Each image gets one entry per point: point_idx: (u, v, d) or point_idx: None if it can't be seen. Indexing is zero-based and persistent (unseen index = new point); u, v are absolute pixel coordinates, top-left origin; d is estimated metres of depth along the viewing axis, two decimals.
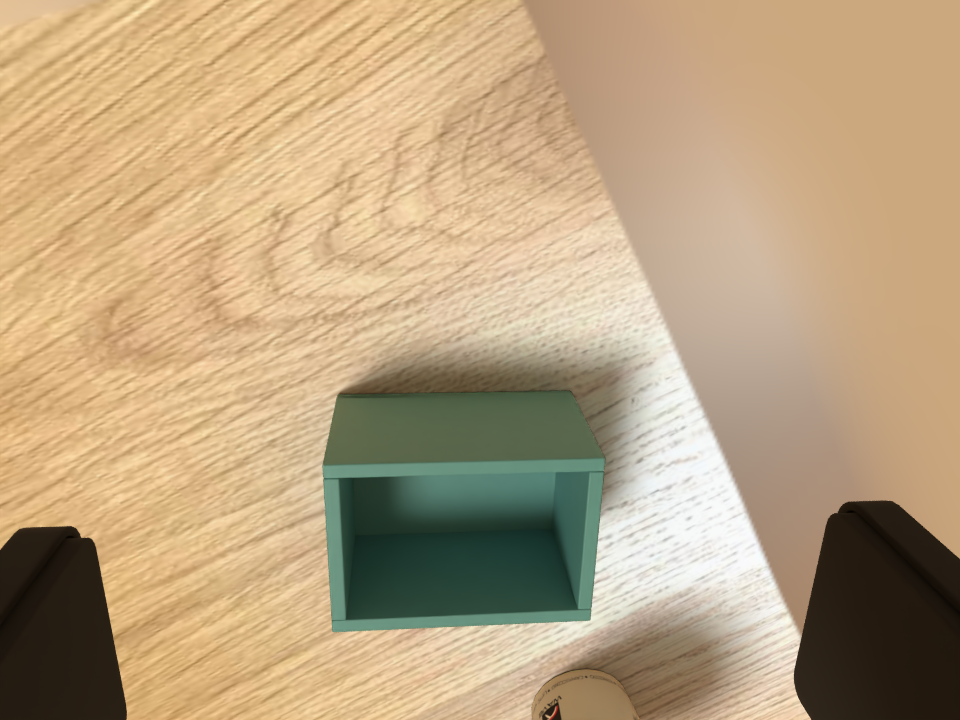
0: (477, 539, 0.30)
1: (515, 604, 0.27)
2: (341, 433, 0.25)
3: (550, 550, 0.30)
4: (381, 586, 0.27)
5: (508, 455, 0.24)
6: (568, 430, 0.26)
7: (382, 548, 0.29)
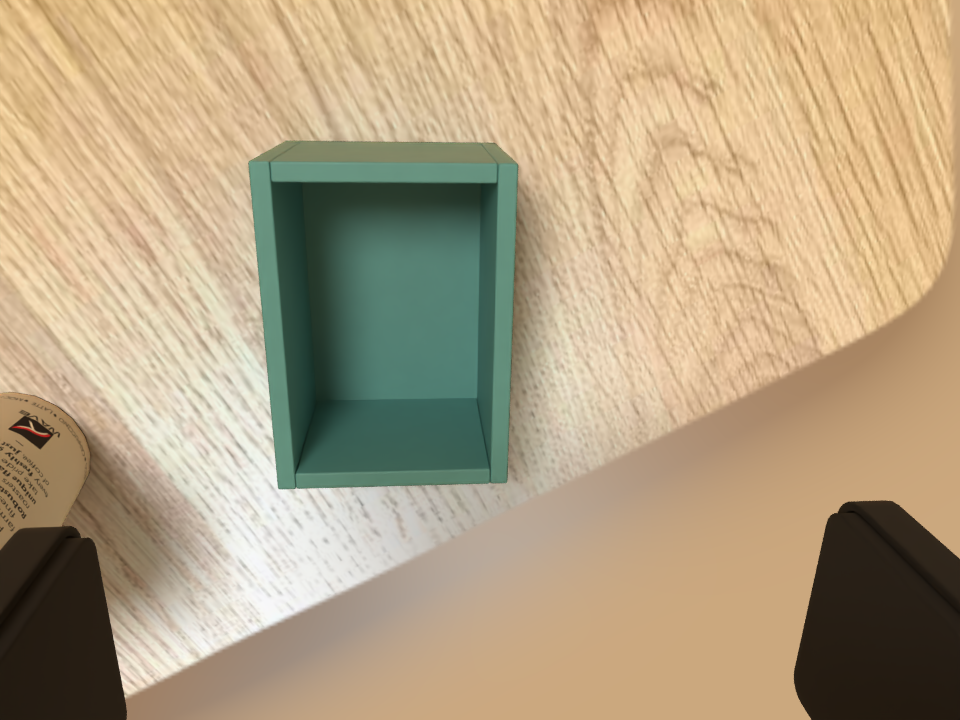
0: (308, 318, 0.24)
1: (291, 397, 0.21)
2: None
3: (310, 409, 0.24)
4: (285, 216, 0.20)
5: None
6: None
7: (298, 201, 0.22)
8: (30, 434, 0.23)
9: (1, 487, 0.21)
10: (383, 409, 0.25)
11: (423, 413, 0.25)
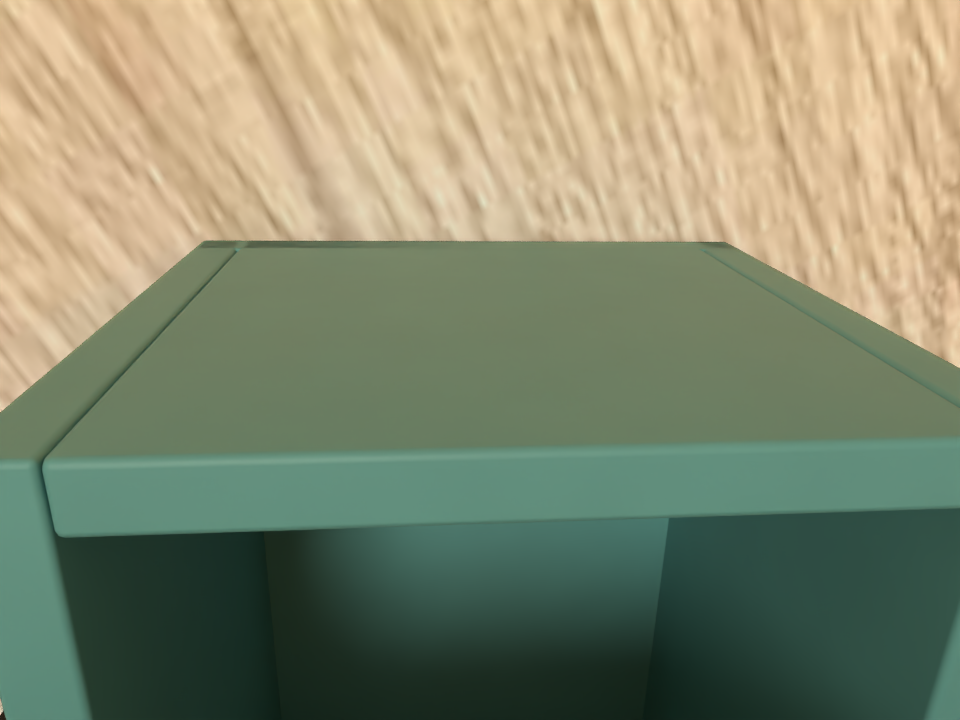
0: (265, 660, 0.10)
1: None
2: None
3: None
4: (172, 534, 0.06)
5: None
6: None
7: None
8: None
9: None
10: None
11: None
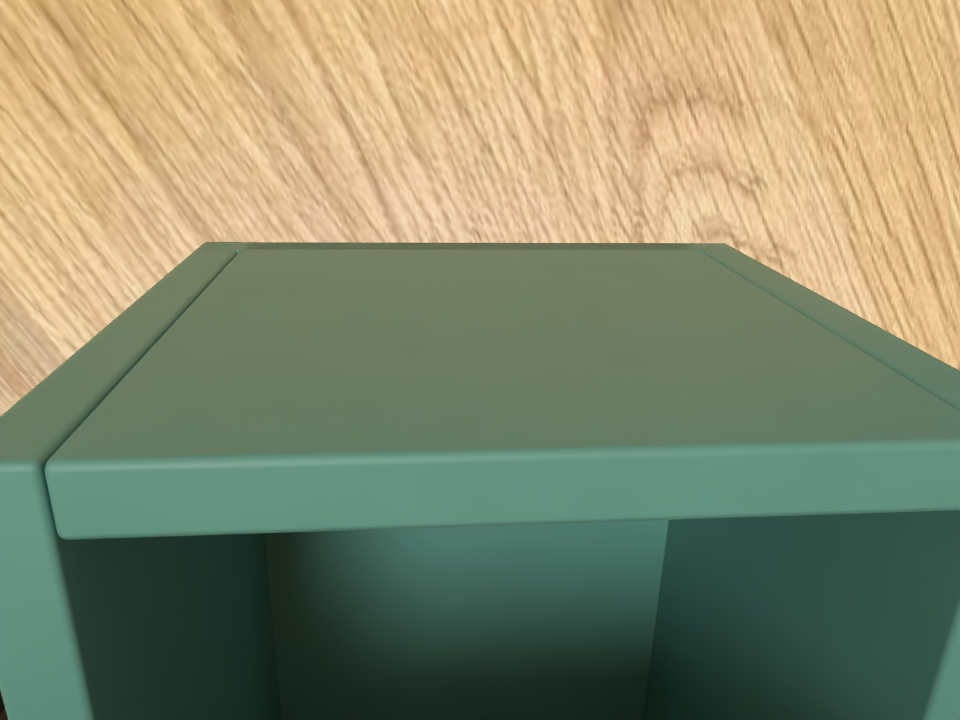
0: (266, 660, 0.10)
1: None
2: None
3: None
4: None
5: None
6: None
7: None
8: None
9: None
10: None
11: None
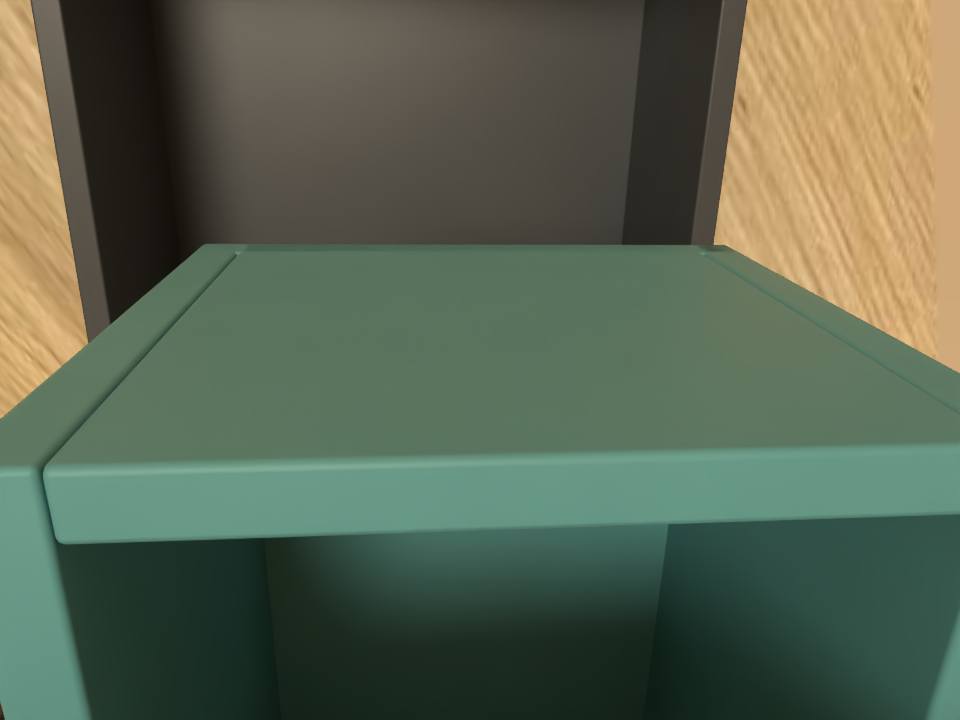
0: (265, 663, 0.10)
1: None
2: None
3: None
4: None
5: None
6: None
7: None
8: None
9: None
10: None
11: None
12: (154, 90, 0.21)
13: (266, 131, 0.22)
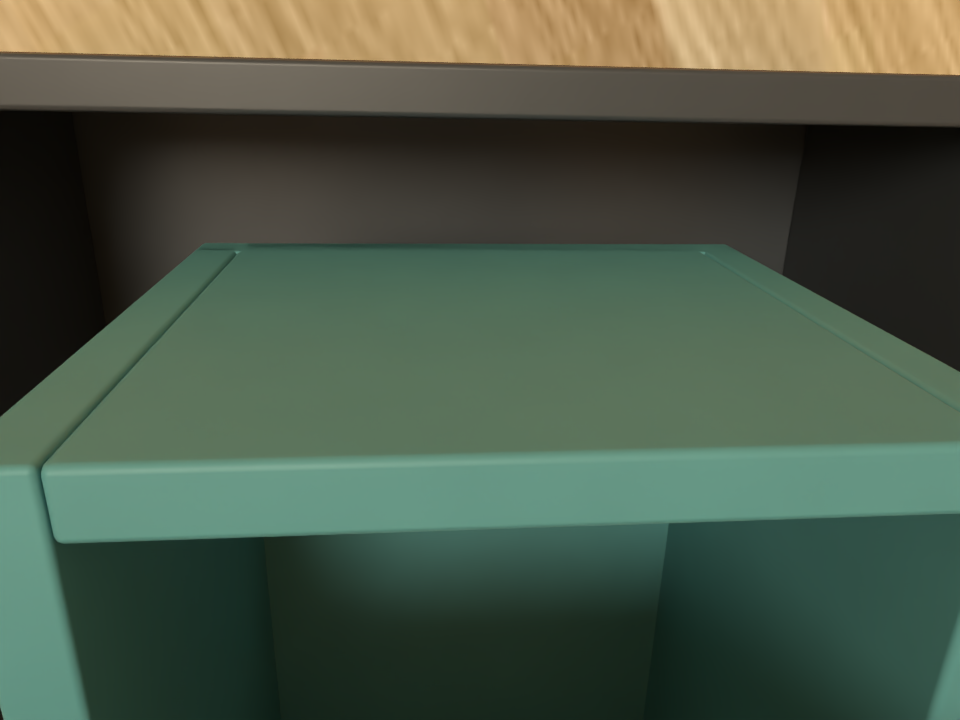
0: (264, 662, 0.10)
1: None
2: None
3: None
4: None
5: None
6: None
7: None
8: None
9: None
10: None
11: None
12: (95, 335, 0.15)
13: None
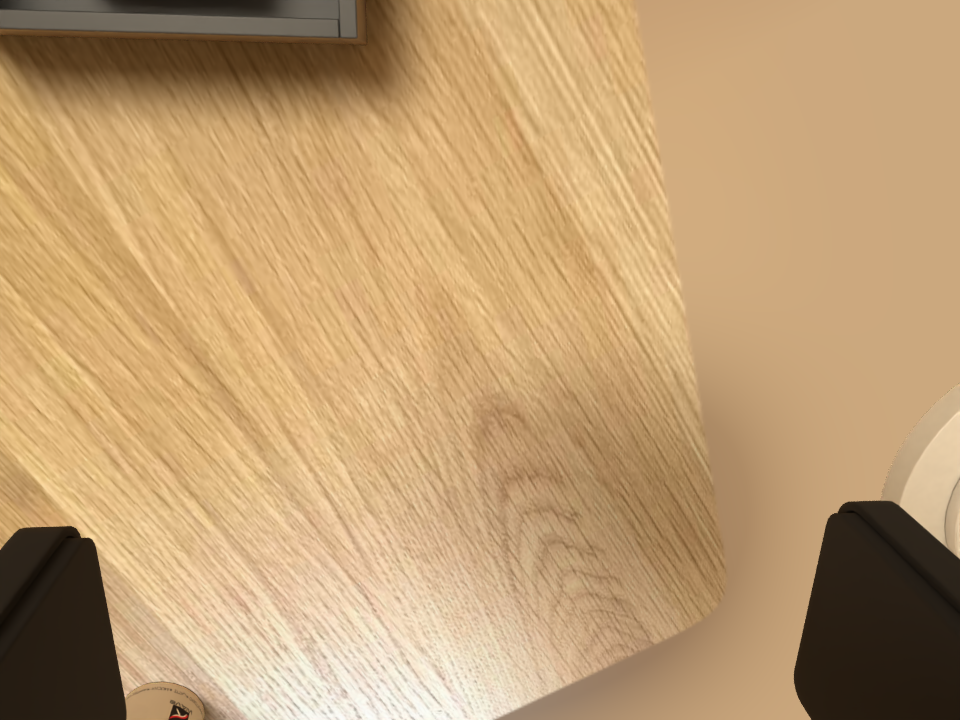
0: None
1: None
2: None
3: None
4: None
5: None
6: None
7: None
8: None
9: None
10: None
11: None
12: None
13: None
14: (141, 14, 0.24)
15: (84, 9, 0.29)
